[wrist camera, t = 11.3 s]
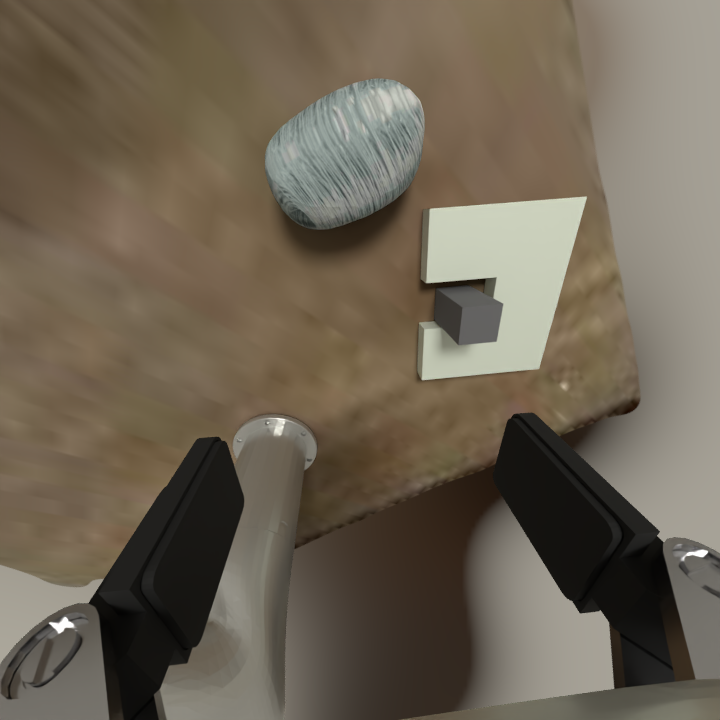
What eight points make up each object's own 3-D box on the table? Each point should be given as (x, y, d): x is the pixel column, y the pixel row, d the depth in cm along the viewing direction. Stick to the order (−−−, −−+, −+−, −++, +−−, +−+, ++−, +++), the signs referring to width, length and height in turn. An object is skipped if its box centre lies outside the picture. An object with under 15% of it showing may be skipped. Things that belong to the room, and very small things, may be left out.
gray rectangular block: (464, 316, 35) (496, 341, 28) (433, 319, 35) (458, 345, 28) (468, 285, 33) (503, 303, 26) (435, 288, 33) (462, 307, 26)
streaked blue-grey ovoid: (297, 264, 28) (283, 202, 18) (261, 177, 27) (226, 66, 18) (416, 222, 30) (464, 146, 20) (382, 141, 29) (413, 23, 20)
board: (527, 360, 39) (538, 368, 37) (417, 371, 38) (421, 380, 36) (569, 198, 29) (586, 196, 27) (423, 209, 29) (429, 208, 27)
